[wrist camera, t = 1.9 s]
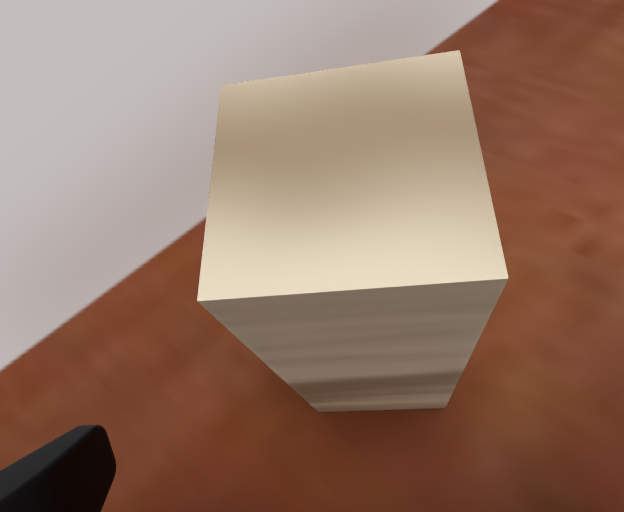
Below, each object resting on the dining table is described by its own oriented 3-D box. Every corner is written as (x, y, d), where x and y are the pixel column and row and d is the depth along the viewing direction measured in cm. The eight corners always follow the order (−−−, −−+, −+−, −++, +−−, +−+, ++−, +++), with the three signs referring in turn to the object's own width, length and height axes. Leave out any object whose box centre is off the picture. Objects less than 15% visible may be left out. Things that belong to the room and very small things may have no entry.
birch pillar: (445, 407, 18) (508, 278, 7) (317, 411, 19) (196, 301, 8) (429, 288, 20) (459, 50, 9) (316, 296, 21) (221, 85, 10)
